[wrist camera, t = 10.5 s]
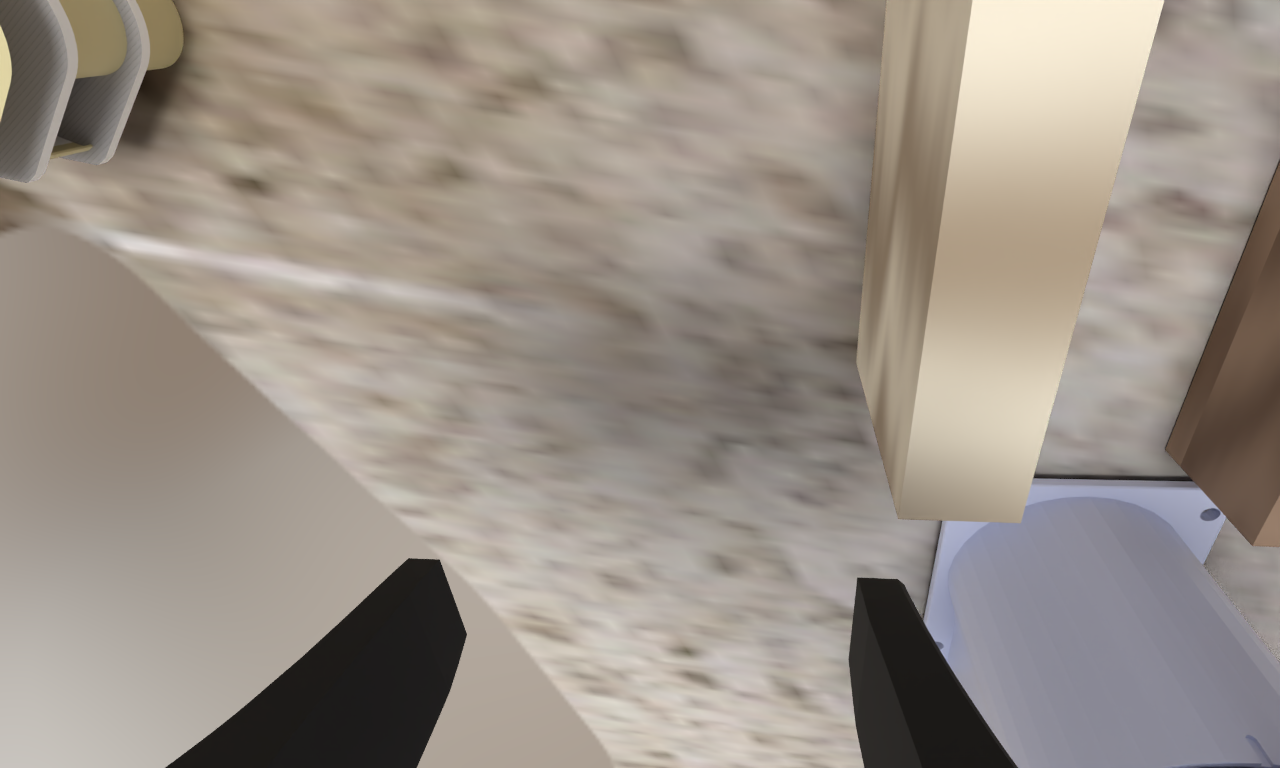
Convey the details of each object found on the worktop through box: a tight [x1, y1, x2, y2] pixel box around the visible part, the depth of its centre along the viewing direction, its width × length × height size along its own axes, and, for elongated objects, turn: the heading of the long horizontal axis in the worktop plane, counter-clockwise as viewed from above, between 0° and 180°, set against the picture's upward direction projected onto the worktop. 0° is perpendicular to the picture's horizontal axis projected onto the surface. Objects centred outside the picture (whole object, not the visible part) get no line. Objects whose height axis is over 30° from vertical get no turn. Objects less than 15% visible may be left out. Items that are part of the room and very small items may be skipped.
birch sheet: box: [856, 0, 1164, 523], centre depth 13 cm, size 12×2×7 cm, turn 6°
